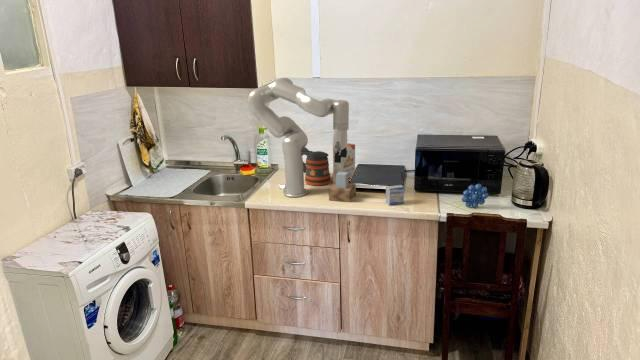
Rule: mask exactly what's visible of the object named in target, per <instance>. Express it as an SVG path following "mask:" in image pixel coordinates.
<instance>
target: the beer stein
mask: <svg viewBox="0 0 640 360" xmlns="http://www.w3.org/2000/svg"><path fill="white" fill-rule="evenodd" d="M301 154H302V157H303V156H304V155H305V156H306V158H305V162H304V161H303V173H304V183H305V184H306V185H309V186H313V187H320V186H326V185H329V184H330V183H331V182H332V179H331V178H332V177H331V172H330V162H329V154H328V153H327V152H325V151H321V150H320V151H319V150H317V151H314V150H313V151H312V150H309V149H308V148H307V147H306V146H305V147H304V148H303V149H301Z"/></svg>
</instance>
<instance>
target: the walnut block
mask: <svg viewBox="0 0 640 360" xmlns="http://www.w3.org/2000/svg"><path fill="white" fill-rule="evenodd" d="M356 188H357V184H356V183H350V182H349V183H348V186H347V188H346V189H345V188H336V182H335V183H334V184H331V186H330V187H329V188H328V201H329V202H330V201H331V202H341V203H342V202H343V203H351V202H352V201H353V199H354V198H355V197H356V194H357V190H356Z"/></svg>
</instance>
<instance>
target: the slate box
mask: <svg viewBox="0 0 640 360" xmlns="http://www.w3.org/2000/svg"><path fill="white" fill-rule="evenodd" d="M347 186H348V172H338V173H337V174H336V188H345V189H346V188H347Z"/></svg>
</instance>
